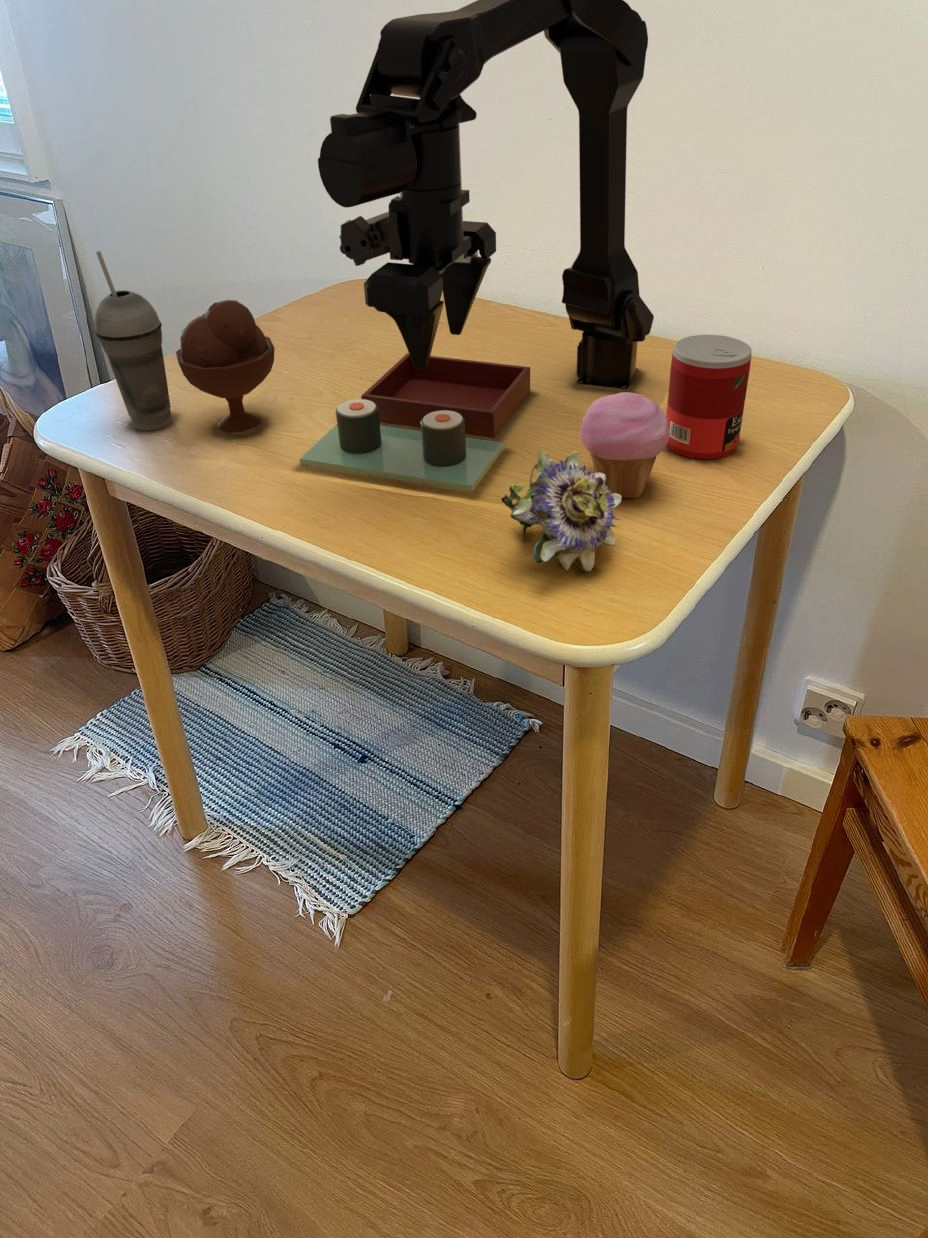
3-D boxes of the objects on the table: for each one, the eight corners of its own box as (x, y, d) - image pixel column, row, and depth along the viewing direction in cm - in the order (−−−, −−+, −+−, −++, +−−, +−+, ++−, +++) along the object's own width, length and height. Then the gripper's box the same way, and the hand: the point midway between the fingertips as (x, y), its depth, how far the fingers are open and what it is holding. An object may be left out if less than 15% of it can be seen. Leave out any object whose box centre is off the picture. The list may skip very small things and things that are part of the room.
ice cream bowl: (276, 400, 119) (256, 278, 110) (293, 438, 110) (272, 309, 101) (190, 415, 116) (161, 291, 107) (199, 455, 108) (169, 324, 99)
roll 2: (472, 449, 104) (470, 410, 101) (456, 469, 100) (454, 429, 97) (433, 444, 105) (430, 405, 102) (416, 463, 102) (413, 423, 99)
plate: (504, 452, 105) (504, 442, 105) (472, 496, 98) (472, 485, 97) (342, 429, 112) (341, 419, 111) (300, 468, 104) (299, 458, 104)
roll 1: (388, 437, 107) (384, 399, 104) (370, 456, 103) (366, 417, 101) (351, 432, 108) (346, 394, 105) (332, 450, 105) (327, 411, 102)
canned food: (738, 463, 102) (753, 363, 95) (662, 458, 103) (671, 360, 96) (737, 430, 107) (751, 335, 101) (664, 426, 109) (673, 332, 102)
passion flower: (582, 614, 90) (560, 570, 79) (491, 560, 95) (458, 510, 84) (648, 518, 92) (635, 461, 81) (555, 469, 96) (531, 408, 85)
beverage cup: (174, 435, 112) (132, 260, 100) (113, 436, 112) (64, 262, 100) (189, 408, 118) (151, 240, 106) (131, 410, 118) (86, 242, 106)
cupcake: (658, 514, 94) (667, 420, 88) (570, 505, 96) (574, 412, 90) (668, 471, 101) (677, 381, 95) (586, 464, 103) (590, 375, 97)
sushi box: (530, 394, 117) (530, 366, 115) (494, 442, 107) (493, 412, 105) (409, 380, 122) (407, 352, 120) (364, 424, 112) (361, 395, 110)
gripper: (391, 156, 95) (403, 311, 105) (300, 204, 82) (323, 378, 91) (496, 161, 92) (499, 321, 101) (420, 212, 78) (431, 391, 88)
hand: (438, 350), depth 95 cm, fingers open, 9 cm apart
